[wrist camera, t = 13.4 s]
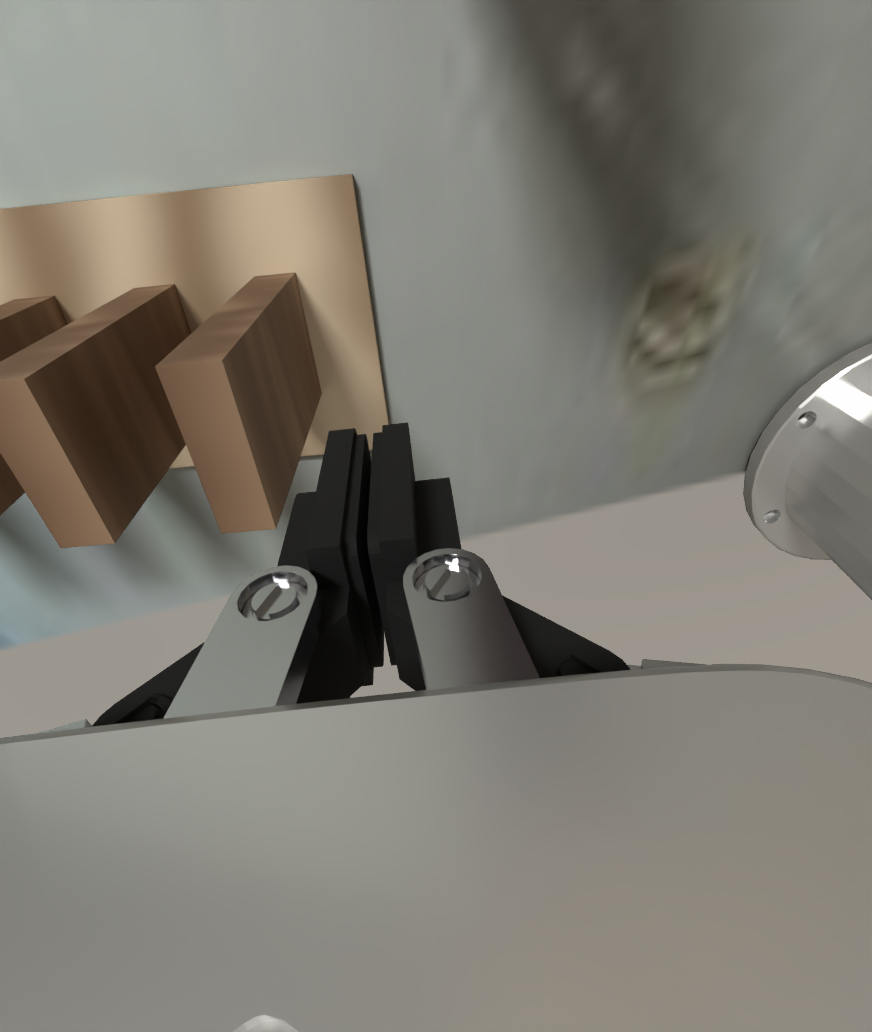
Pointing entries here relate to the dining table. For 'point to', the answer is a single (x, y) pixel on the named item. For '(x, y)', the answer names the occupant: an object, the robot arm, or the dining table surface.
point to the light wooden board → (217, 271)
